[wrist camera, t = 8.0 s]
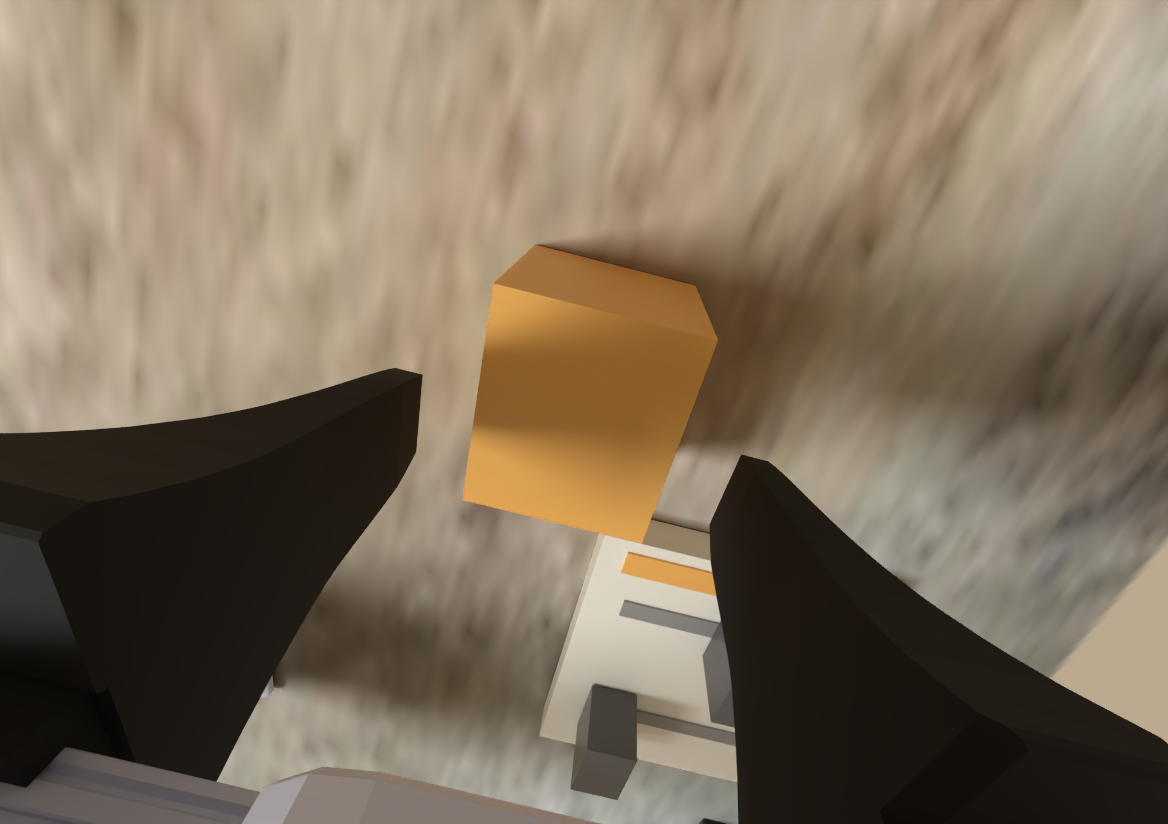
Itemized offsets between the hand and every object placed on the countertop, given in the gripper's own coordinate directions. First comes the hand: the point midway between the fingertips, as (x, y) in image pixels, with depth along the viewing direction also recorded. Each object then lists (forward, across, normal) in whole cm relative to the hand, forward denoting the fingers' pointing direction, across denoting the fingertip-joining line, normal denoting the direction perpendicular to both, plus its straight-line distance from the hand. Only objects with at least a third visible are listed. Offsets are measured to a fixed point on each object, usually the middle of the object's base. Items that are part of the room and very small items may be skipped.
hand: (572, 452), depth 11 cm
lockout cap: (+6, 0, 0) cm, 6 cm away
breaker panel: (+6, -7, +13) cm, 16 cm away
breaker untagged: (+4, -4, +16) cm, 17 cm away
